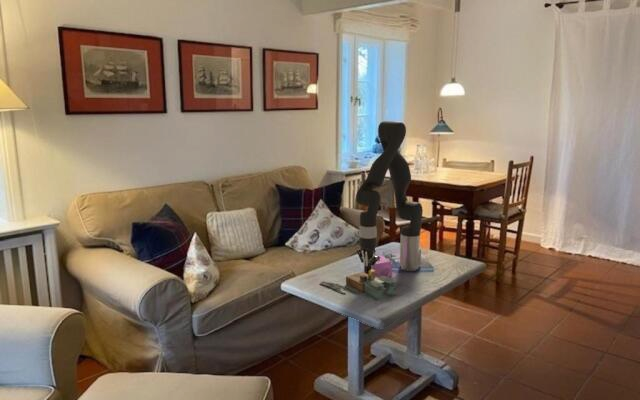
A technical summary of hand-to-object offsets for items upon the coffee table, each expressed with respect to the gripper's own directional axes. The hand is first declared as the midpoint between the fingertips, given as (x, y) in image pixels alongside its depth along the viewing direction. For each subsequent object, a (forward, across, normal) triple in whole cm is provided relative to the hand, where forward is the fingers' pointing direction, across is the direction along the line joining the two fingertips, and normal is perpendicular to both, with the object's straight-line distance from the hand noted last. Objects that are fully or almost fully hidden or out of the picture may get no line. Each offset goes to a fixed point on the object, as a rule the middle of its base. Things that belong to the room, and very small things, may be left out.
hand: (367, 273), depth 214 cm
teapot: (+7, +7, -12) cm, 16 cm away
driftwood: (+8, +7, +11) cm, 15 cm away
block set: (+7, -2, 0) cm, 7 cm away
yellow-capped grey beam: (+3, -6, 0) cm, 6 cm away
